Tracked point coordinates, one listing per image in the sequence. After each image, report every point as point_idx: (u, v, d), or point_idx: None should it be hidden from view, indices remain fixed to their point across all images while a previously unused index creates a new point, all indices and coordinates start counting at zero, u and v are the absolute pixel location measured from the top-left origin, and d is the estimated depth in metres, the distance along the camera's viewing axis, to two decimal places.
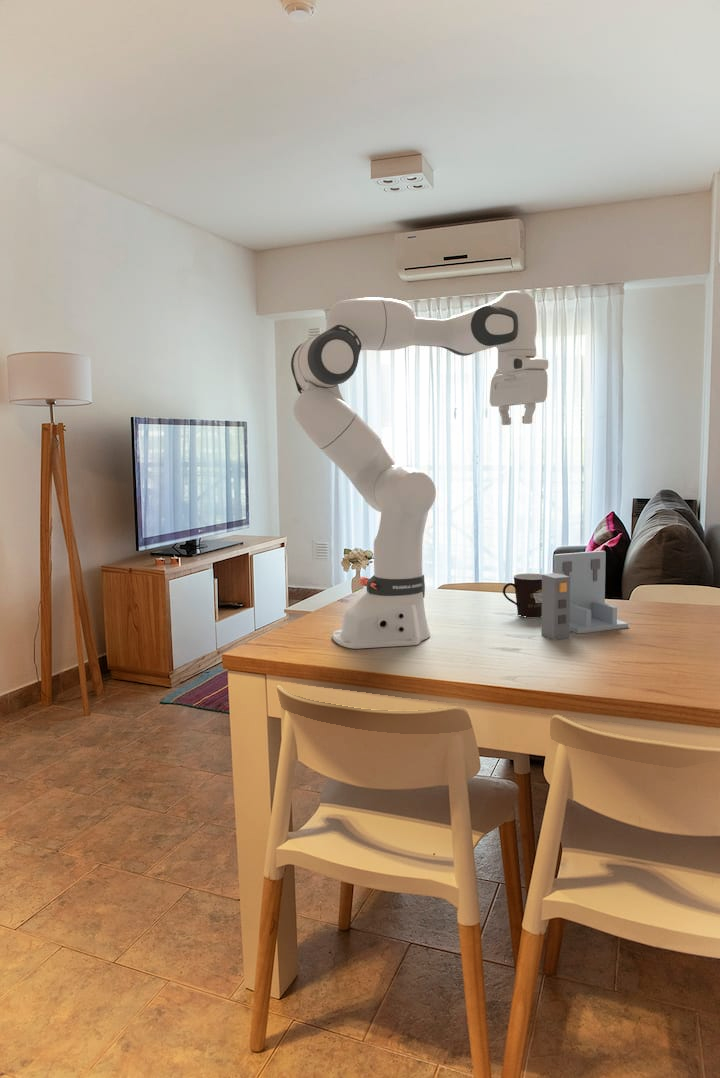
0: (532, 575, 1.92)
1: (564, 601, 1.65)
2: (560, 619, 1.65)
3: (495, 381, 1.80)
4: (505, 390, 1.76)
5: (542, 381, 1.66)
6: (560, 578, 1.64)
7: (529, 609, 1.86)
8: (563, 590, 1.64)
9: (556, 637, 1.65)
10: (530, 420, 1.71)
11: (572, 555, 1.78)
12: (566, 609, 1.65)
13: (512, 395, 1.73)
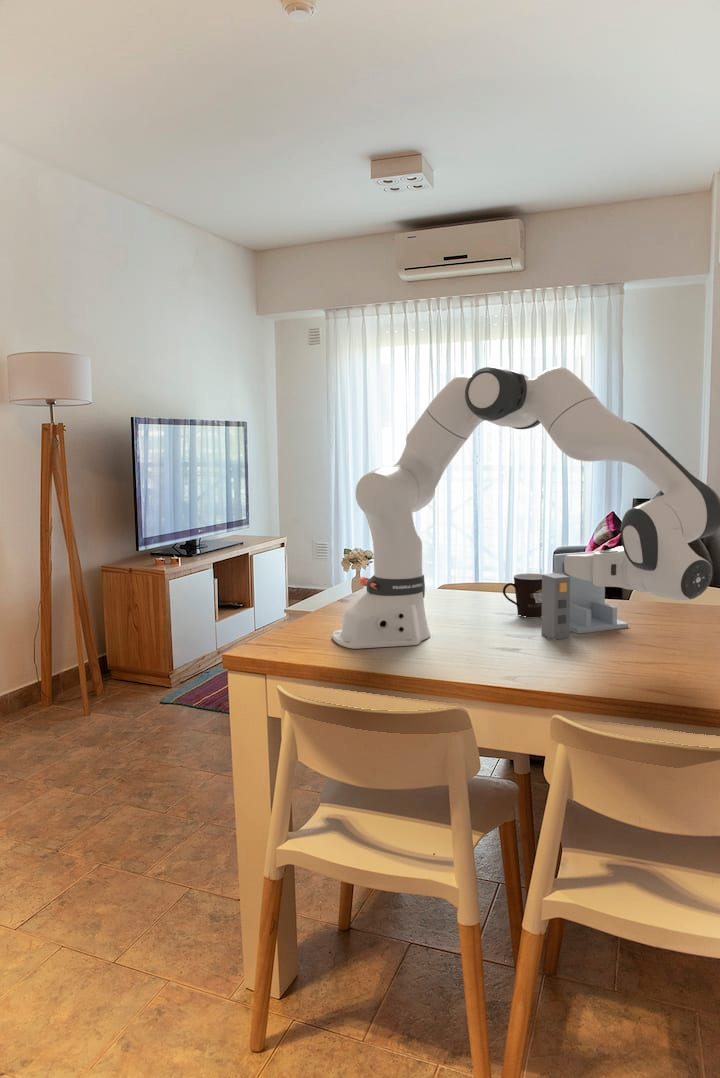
0: (532, 575, 1.92)
1: (564, 601, 1.65)
2: (560, 619, 1.65)
3: None
4: None
5: (576, 570, 1.43)
6: (560, 578, 1.64)
7: (529, 609, 1.86)
8: (563, 590, 1.64)
9: (556, 637, 1.65)
10: None
11: None
12: (566, 609, 1.65)
13: None
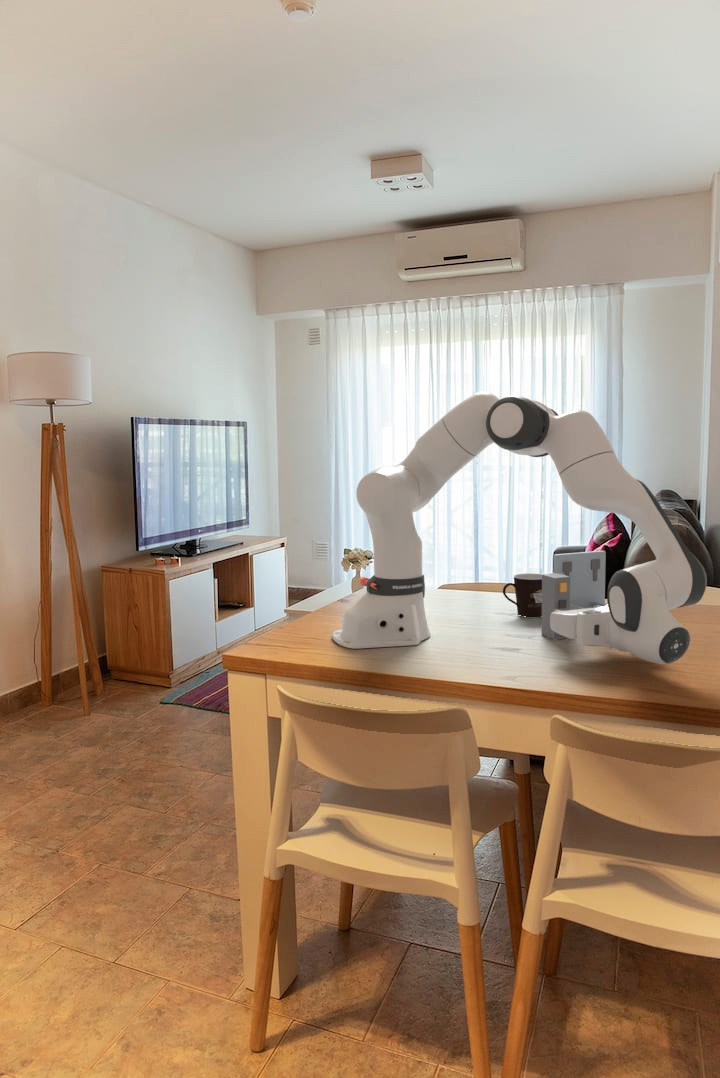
0: (532, 575, 1.92)
1: (564, 601, 1.65)
2: None
3: None
4: None
5: (561, 628, 1.48)
6: (560, 578, 1.64)
7: (529, 609, 1.86)
8: (563, 590, 1.64)
9: (556, 637, 1.65)
10: None
11: (572, 555, 1.78)
12: (566, 609, 1.65)
13: (590, 609, 1.53)
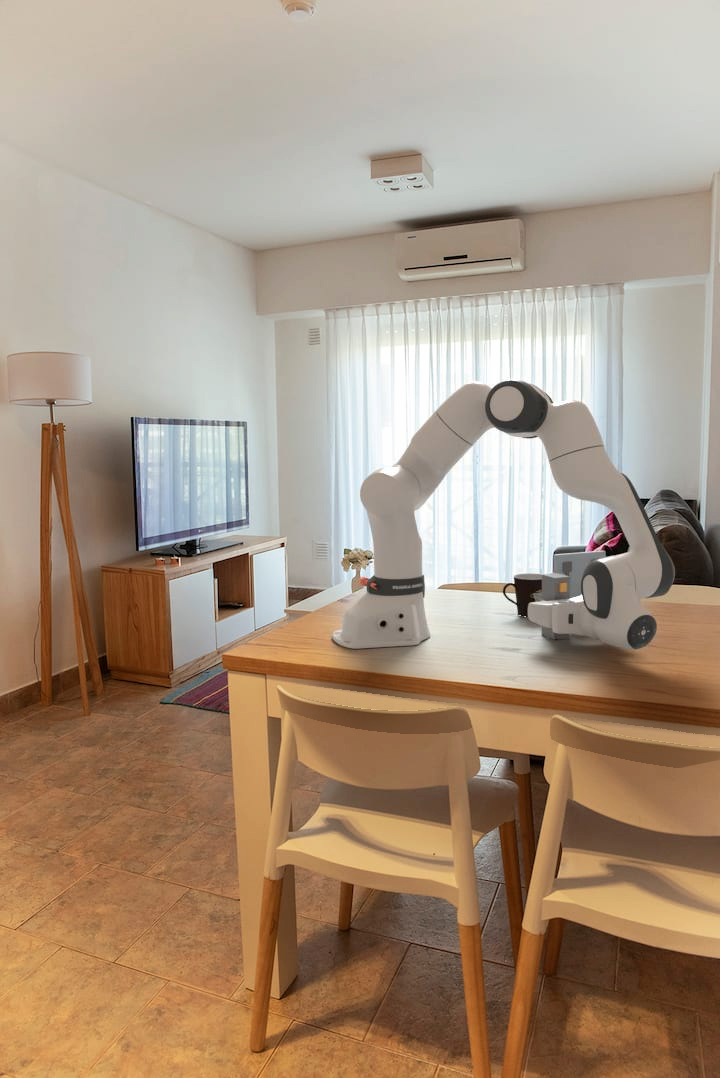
0: (532, 575, 1.92)
1: None
2: None
3: None
4: None
5: (538, 617, 1.56)
6: (560, 578, 1.64)
7: None
8: (563, 590, 1.64)
9: (556, 637, 1.65)
10: None
11: (572, 555, 1.78)
12: None
13: None
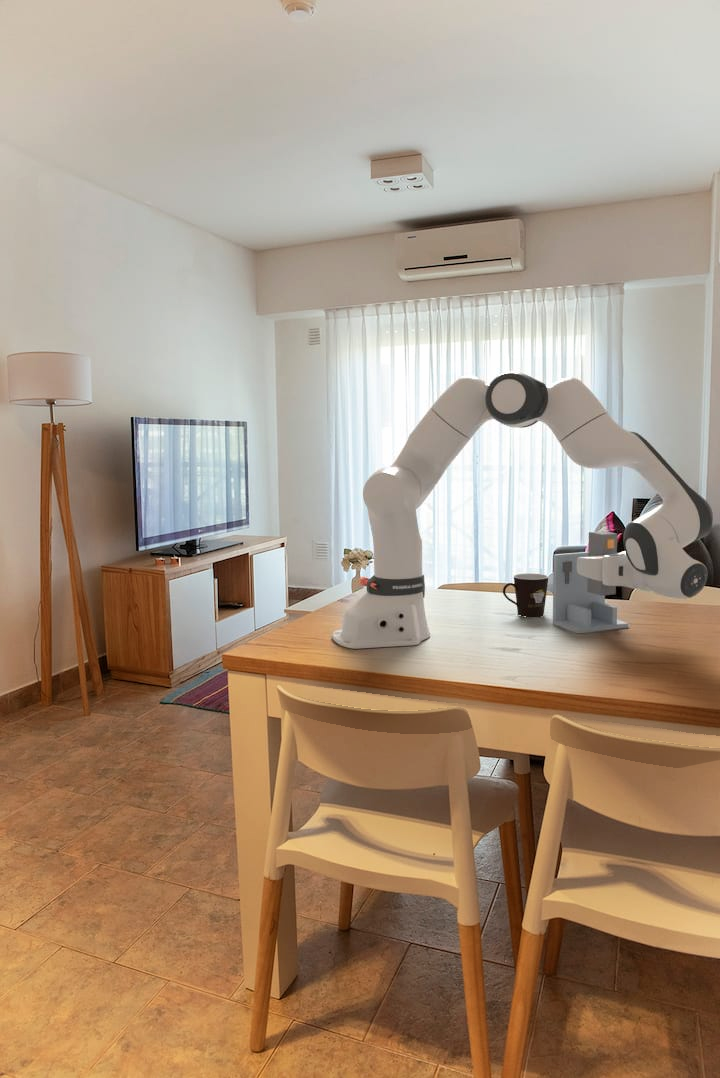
0: (532, 575, 1.92)
1: None
2: None
3: None
4: None
5: (588, 571, 1.60)
6: (608, 535, 1.68)
7: (529, 609, 1.86)
8: (610, 546, 1.68)
9: (603, 593, 1.69)
10: None
11: (572, 555, 1.78)
12: None
13: None
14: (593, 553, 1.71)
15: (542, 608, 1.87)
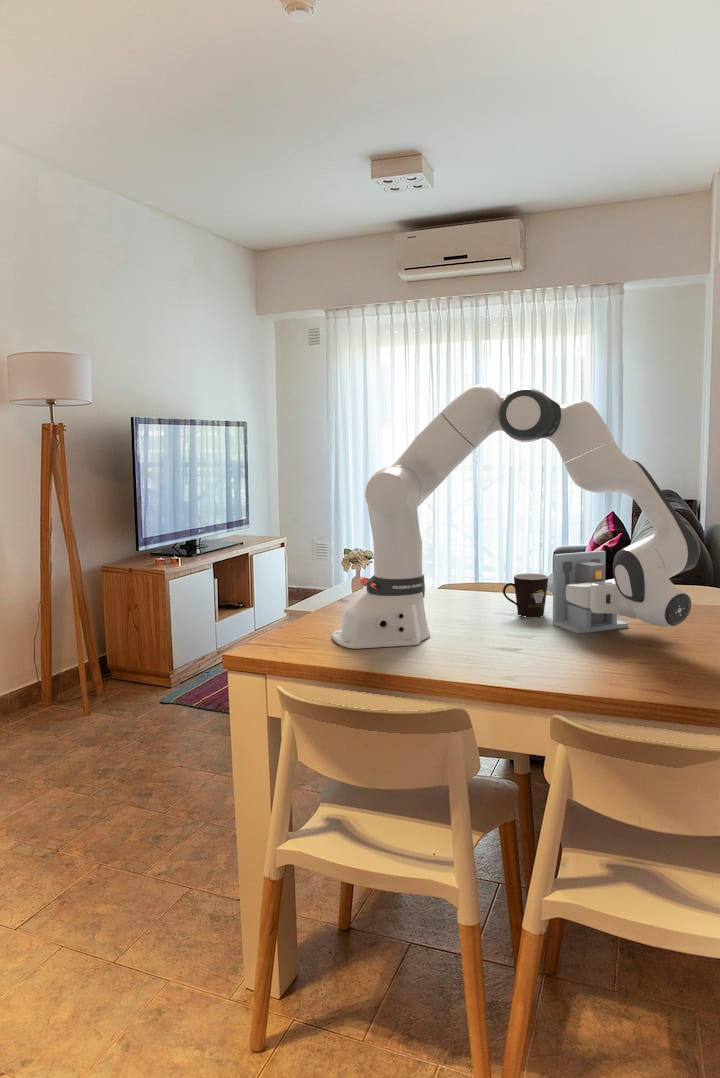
0: (532, 575, 1.92)
1: None
2: None
3: None
4: None
5: (576, 598, 1.65)
6: (595, 566, 1.73)
7: (529, 609, 1.86)
8: (598, 577, 1.73)
9: (591, 622, 1.74)
10: None
11: (572, 555, 1.78)
12: None
13: None
14: None
15: (542, 608, 1.87)
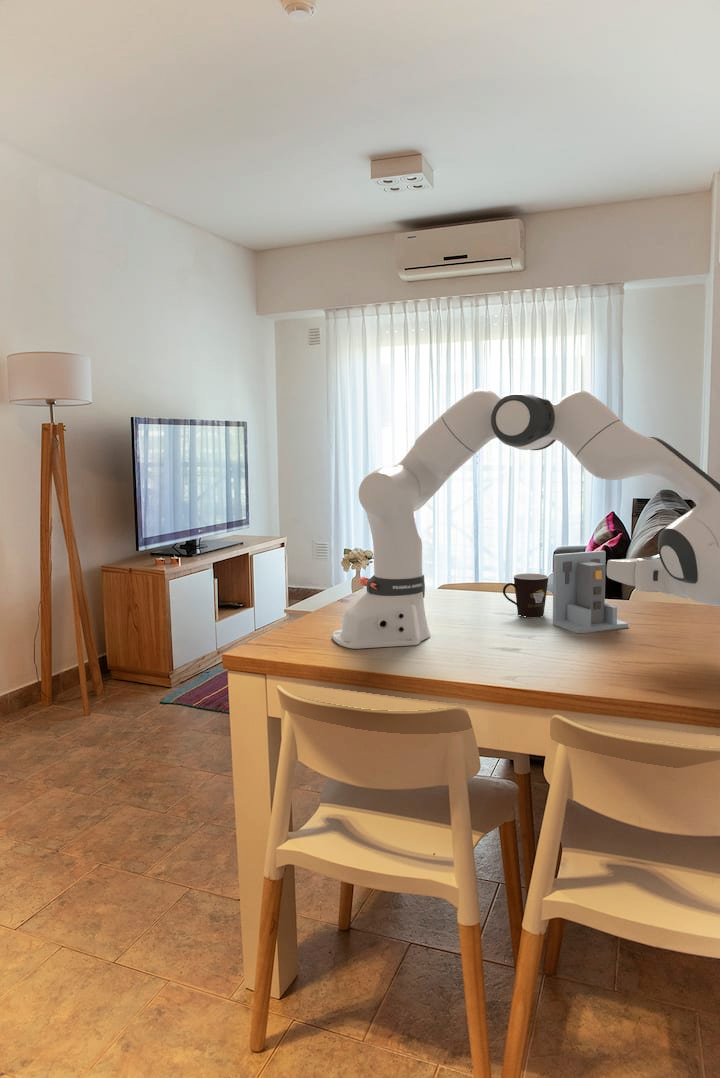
0: (532, 575, 1.92)
1: (599, 588, 1.73)
2: (595, 605, 1.74)
3: None
4: None
5: (619, 575, 1.50)
6: (595, 566, 1.73)
7: (529, 609, 1.86)
8: (598, 577, 1.73)
9: (591, 622, 1.74)
10: None
11: (572, 555, 1.78)
12: (601, 595, 1.74)
13: None
14: (582, 583, 1.76)
15: (542, 608, 1.87)
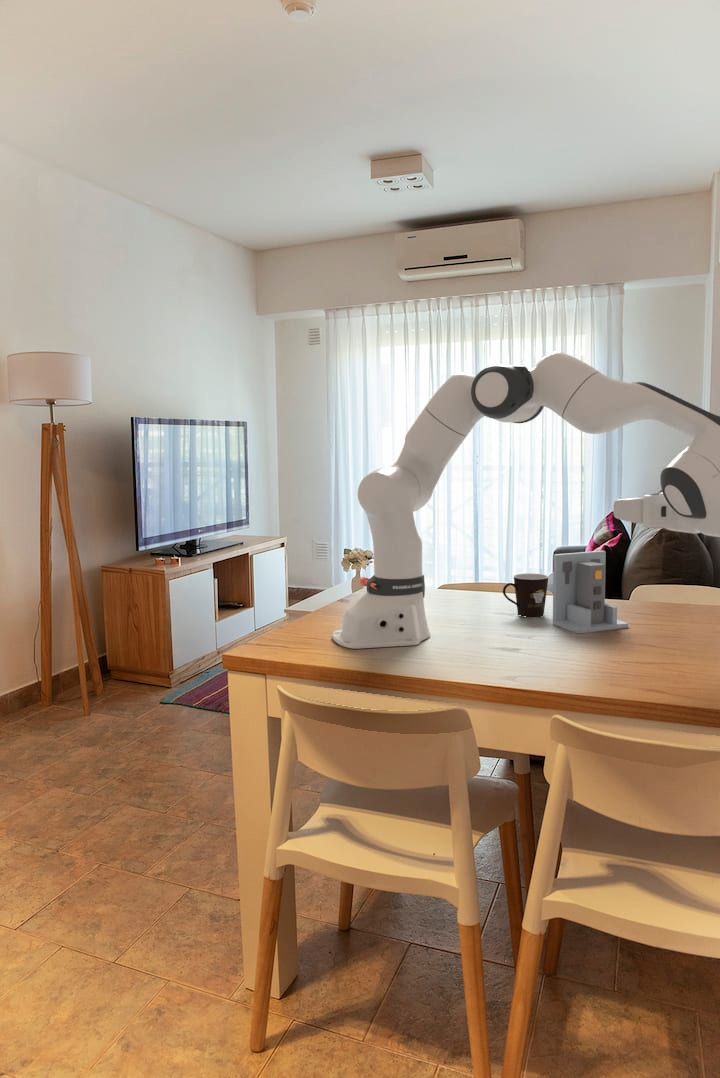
0: (532, 575, 1.92)
1: (599, 588, 1.73)
2: (595, 605, 1.74)
3: None
4: None
5: (626, 513, 1.48)
6: (595, 566, 1.73)
7: (529, 609, 1.86)
8: (598, 577, 1.73)
9: (591, 622, 1.74)
10: None
11: (572, 555, 1.78)
12: (601, 595, 1.74)
13: None
14: (582, 583, 1.76)
15: (542, 608, 1.87)
